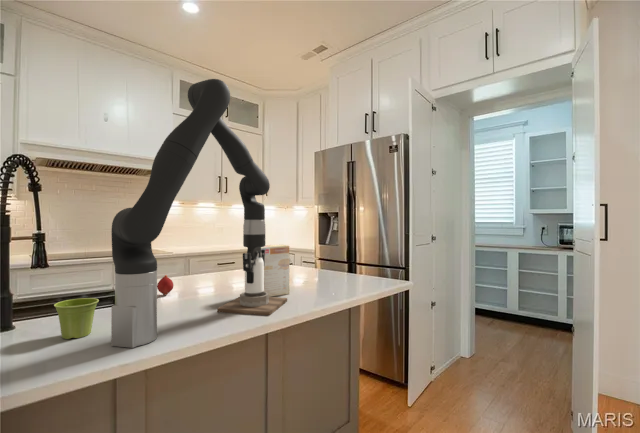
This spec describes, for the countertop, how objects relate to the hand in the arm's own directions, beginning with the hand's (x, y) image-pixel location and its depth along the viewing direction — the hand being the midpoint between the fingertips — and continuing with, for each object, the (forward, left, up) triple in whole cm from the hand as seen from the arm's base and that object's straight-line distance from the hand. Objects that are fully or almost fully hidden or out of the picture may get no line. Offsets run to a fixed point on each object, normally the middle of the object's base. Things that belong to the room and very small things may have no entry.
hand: (254, 281), depth 115 cm
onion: (+8, +41, -9) cm, 43 cm away
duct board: (0, 0, -9) cm, 9 cm away
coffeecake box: (+17, +1, -9) cm, 19 cm away
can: (0, 0, -4) cm, 4 cm away
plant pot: (-36, +34, -9) cm, 50 cm away
